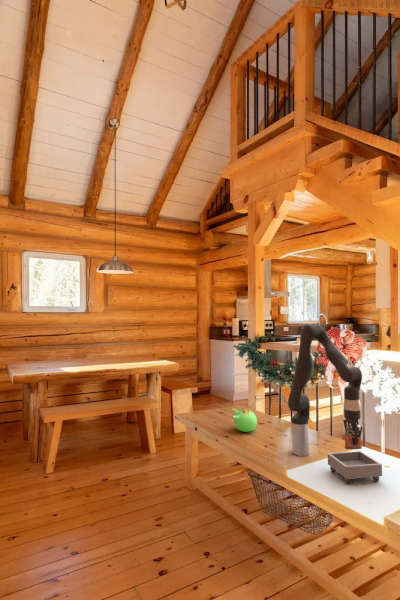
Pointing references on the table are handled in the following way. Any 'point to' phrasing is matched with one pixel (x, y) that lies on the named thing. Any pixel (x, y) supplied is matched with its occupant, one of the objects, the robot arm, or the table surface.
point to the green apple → (244, 420)
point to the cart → (354, 465)
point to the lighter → (351, 440)
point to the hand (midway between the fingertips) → (353, 443)
